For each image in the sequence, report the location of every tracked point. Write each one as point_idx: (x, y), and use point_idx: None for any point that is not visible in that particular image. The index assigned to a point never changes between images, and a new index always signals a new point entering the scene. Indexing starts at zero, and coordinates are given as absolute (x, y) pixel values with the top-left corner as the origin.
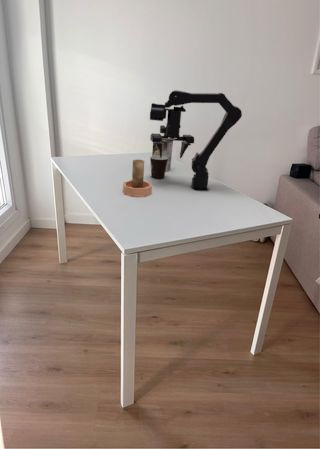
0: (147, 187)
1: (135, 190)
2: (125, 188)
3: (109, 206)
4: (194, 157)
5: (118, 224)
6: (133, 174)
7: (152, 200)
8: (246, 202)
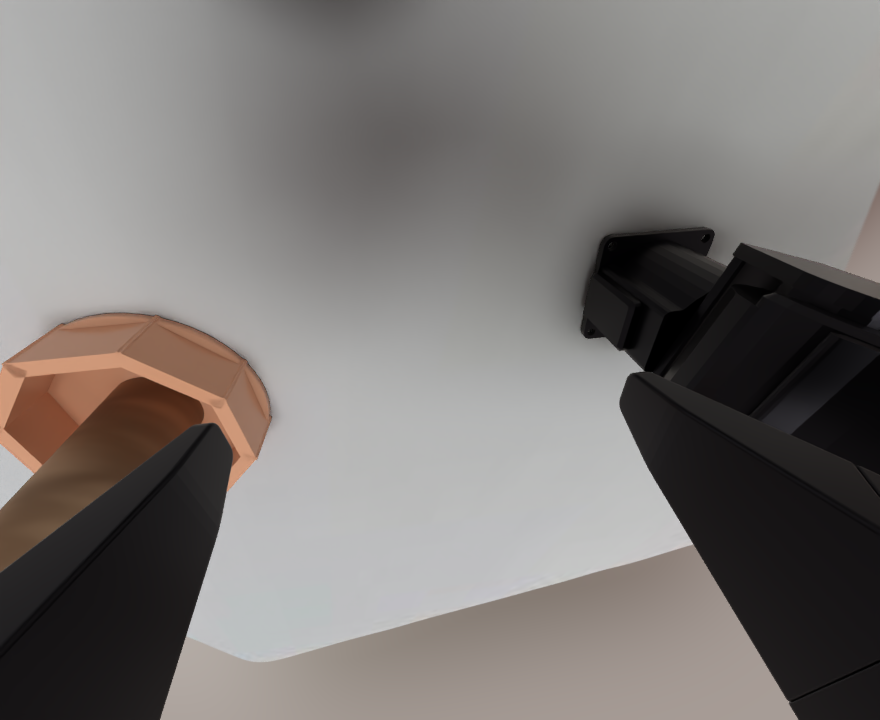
0: (230, 482)
1: None
2: None
3: None
4: (863, 418)
5: (202, 621)
6: None
7: (289, 486)
8: None
